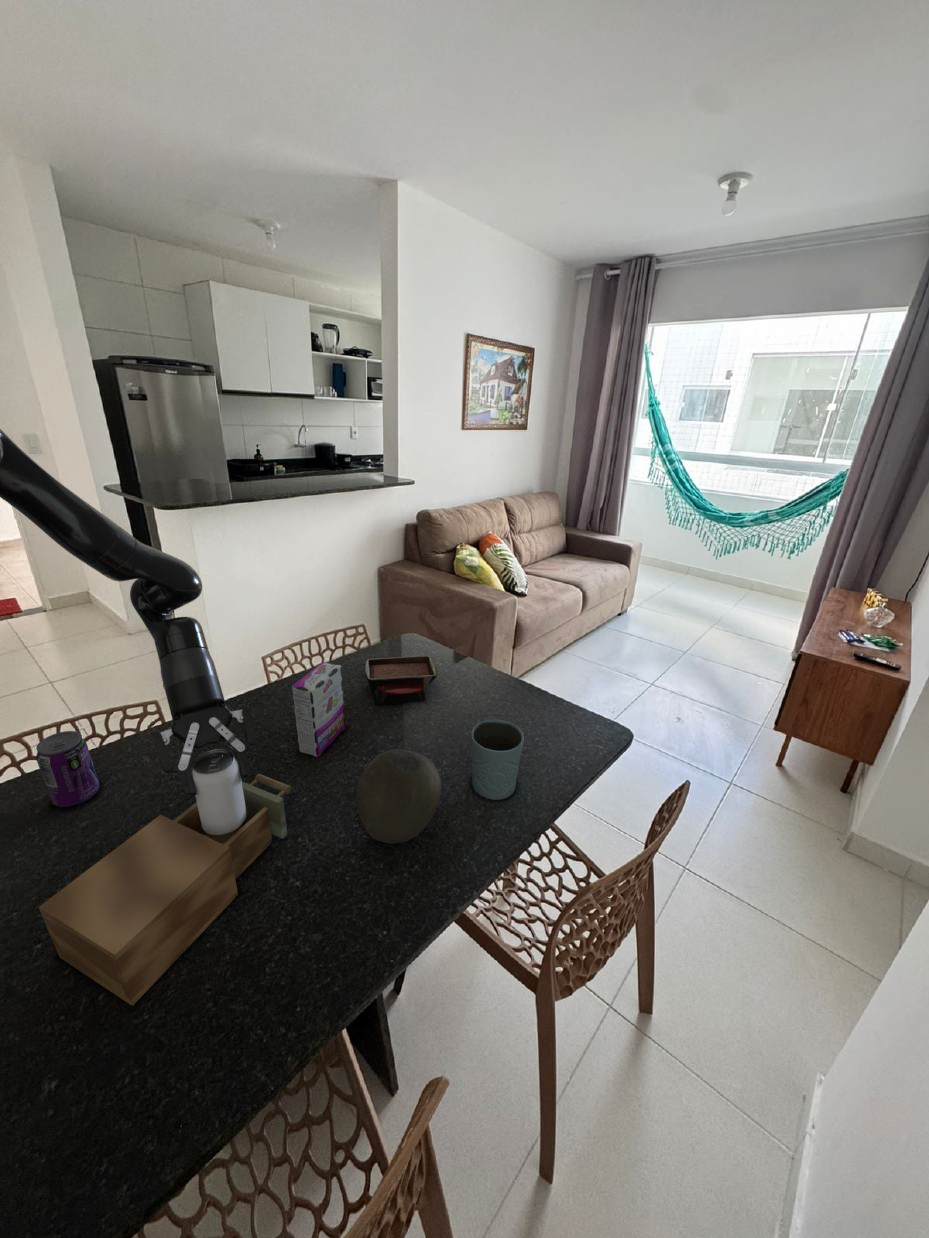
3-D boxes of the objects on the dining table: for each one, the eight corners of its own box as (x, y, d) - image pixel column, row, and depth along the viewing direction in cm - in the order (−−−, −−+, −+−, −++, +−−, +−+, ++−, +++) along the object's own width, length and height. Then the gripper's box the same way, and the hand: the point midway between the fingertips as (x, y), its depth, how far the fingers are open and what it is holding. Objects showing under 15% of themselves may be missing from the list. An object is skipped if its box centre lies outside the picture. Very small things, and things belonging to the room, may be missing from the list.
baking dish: (371, 682, 137) (364, 651, 132) (437, 673, 138) (433, 642, 133) (369, 717, 125) (361, 684, 120) (441, 706, 126) (436, 673, 121)
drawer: (251, 791, 95) (246, 757, 91) (306, 814, 90) (303, 779, 87) (150, 878, 77) (139, 839, 74) (212, 911, 73) (204, 872, 70)
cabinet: (172, 860, 81) (160, 814, 77) (238, 894, 77) (229, 847, 73) (59, 957, 67) (38, 906, 63) (132, 1006, 62) (114, 954, 58)
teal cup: (496, 810, 95) (502, 759, 90) (456, 783, 101) (459, 733, 96) (528, 783, 102) (535, 734, 97) (489, 760, 108) (493, 712, 103)
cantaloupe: (418, 873, 82) (420, 801, 76) (341, 845, 86) (337, 775, 80) (450, 812, 94) (454, 746, 88) (382, 790, 98) (381, 726, 92)
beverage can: (101, 800, 92) (84, 746, 87) (51, 815, 88) (31, 760, 83) (99, 776, 97) (84, 724, 92) (53, 790, 94) (34, 737, 89)
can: (248, 802, 85) (238, 743, 80) (245, 832, 79) (235, 771, 74) (204, 809, 83) (192, 750, 78) (199, 841, 77) (185, 779, 72)
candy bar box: (326, 723, 116) (322, 660, 110) (346, 728, 115) (342, 664, 108) (297, 752, 107) (290, 685, 100) (317, 758, 105) (312, 690, 99)
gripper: (136, 688, 73) (164, 803, 69) (242, 663, 81) (272, 765, 77) (140, 702, 79) (166, 808, 75) (238, 677, 87) (266, 772, 83)
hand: (219, 786), depth 76 cm, fingers closed on can, 6 cm apart
